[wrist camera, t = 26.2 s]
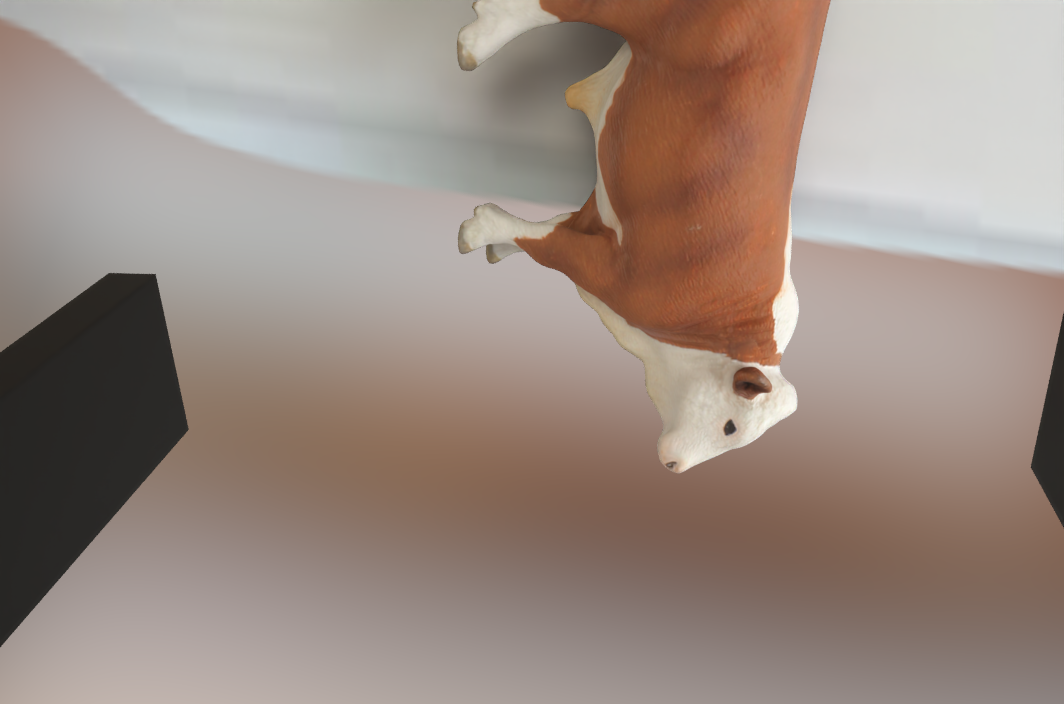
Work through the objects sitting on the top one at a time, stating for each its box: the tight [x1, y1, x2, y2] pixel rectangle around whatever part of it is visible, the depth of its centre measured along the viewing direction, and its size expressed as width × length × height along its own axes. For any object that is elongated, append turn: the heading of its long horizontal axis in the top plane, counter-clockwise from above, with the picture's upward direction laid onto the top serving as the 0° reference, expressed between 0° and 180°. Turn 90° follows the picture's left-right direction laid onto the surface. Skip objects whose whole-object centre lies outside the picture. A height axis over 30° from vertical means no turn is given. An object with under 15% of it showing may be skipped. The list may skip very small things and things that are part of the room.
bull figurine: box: [457, 0, 830, 473], centre depth 23 cm, size 4×13×8 cm
